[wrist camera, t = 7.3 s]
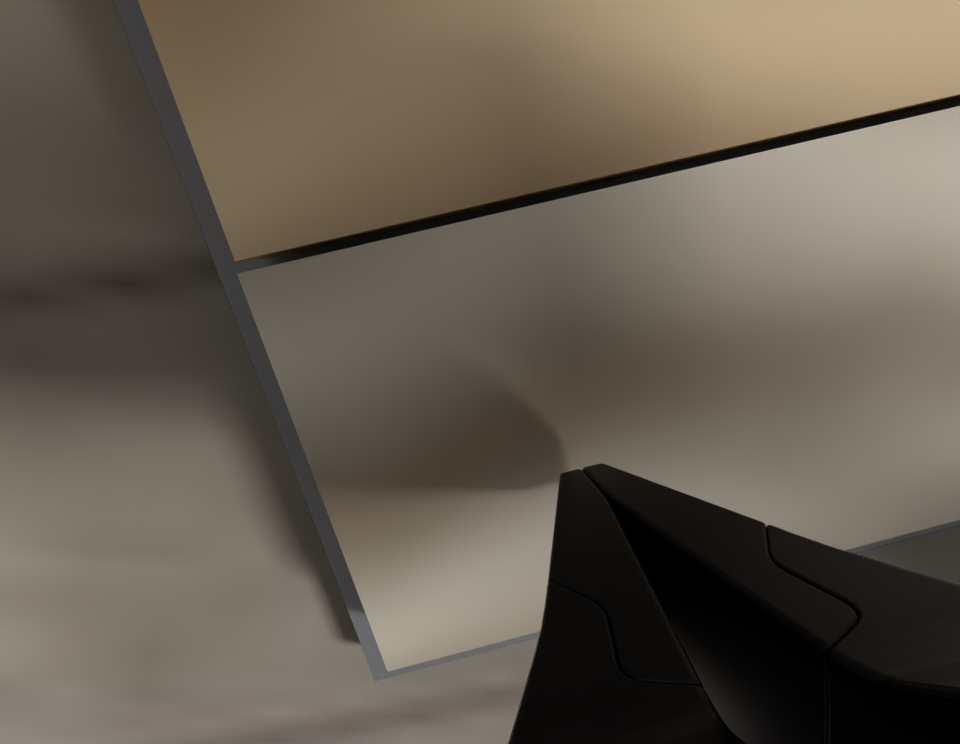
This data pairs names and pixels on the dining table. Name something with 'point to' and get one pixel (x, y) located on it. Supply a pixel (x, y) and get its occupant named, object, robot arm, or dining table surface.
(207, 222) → the underlay mat
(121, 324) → the dining table surface
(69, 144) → the dining table surface
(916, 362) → the loose plank
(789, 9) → the plank
